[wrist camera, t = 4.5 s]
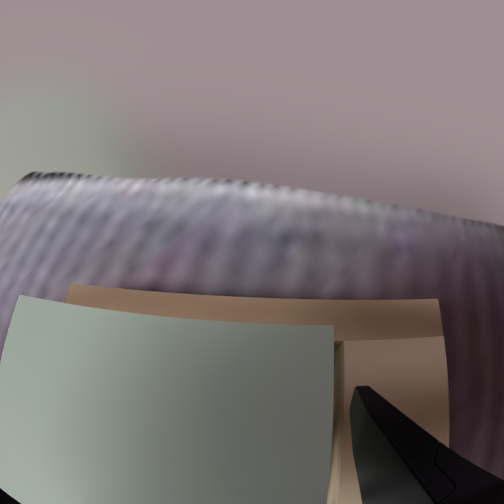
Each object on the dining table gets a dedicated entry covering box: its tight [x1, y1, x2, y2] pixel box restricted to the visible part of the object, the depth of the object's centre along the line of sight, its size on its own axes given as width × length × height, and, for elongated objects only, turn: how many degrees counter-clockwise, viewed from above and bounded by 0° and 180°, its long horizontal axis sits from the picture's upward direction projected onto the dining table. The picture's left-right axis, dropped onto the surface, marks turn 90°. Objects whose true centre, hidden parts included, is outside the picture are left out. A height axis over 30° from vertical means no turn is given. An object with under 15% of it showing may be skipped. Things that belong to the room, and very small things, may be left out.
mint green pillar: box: [0, 295, 334, 504], centre depth 8 cm, size 7×8×12 cm
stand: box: [64, 283, 449, 504], centre depth 12 cm, size 10×20×3 cm, turn 85°
